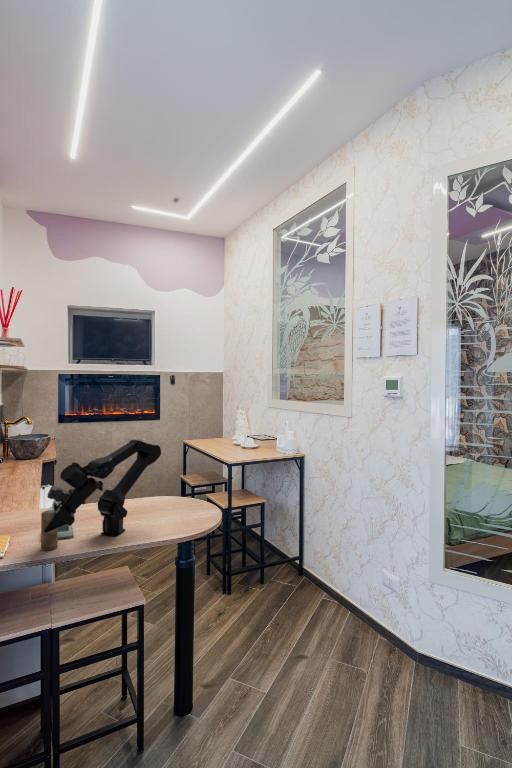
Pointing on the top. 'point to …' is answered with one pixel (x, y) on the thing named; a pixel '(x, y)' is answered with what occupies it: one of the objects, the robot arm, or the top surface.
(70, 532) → the green square tray
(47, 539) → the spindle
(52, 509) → the pacifier
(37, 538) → the top surface
